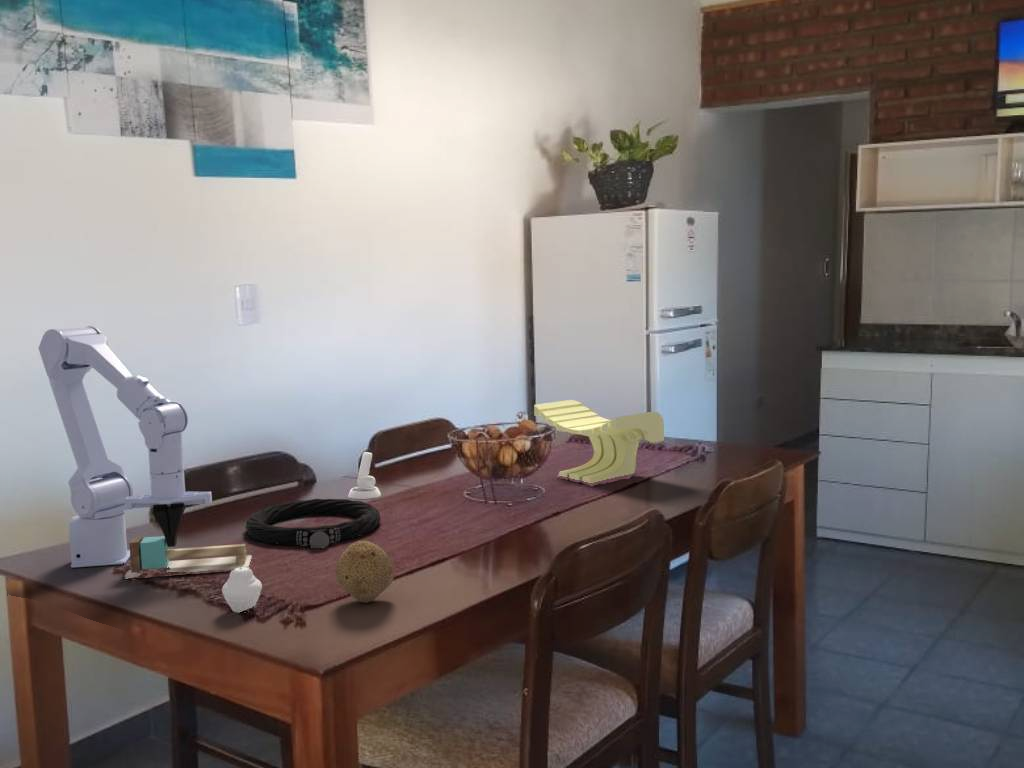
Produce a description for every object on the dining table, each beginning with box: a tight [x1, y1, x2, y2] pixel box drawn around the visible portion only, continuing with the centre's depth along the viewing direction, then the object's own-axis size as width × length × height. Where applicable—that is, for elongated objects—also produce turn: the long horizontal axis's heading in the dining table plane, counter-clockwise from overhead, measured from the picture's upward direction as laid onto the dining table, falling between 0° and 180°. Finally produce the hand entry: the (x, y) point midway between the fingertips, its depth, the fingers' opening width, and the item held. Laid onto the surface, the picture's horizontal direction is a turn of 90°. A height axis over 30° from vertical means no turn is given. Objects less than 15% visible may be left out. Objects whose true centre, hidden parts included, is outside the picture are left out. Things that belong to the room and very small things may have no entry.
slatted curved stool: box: [533, 399, 665, 483], centre depth 242 cm, size 30×16×18 cm, turn 38°
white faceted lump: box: [221, 567, 263, 614], centre depth 153 cm, size 6×6×7 cm
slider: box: [140, 535, 170, 569], centre depth 174 cm, size 4×4×5 cm
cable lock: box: [244, 498, 381, 549], centre depth 200 cm, size 28×4×30 cm
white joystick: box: [347, 451, 382, 500], centre depth 231 cm, size 8×12×7 cm
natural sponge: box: [335, 540, 394, 604], centre depth 156 cm, size 9×9×10 cm
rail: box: [124, 536, 253, 579], centre depth 175 cm, size 21×7×6 cm, turn 100°
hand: (172, 545), depth 174 cm, fingers closed
